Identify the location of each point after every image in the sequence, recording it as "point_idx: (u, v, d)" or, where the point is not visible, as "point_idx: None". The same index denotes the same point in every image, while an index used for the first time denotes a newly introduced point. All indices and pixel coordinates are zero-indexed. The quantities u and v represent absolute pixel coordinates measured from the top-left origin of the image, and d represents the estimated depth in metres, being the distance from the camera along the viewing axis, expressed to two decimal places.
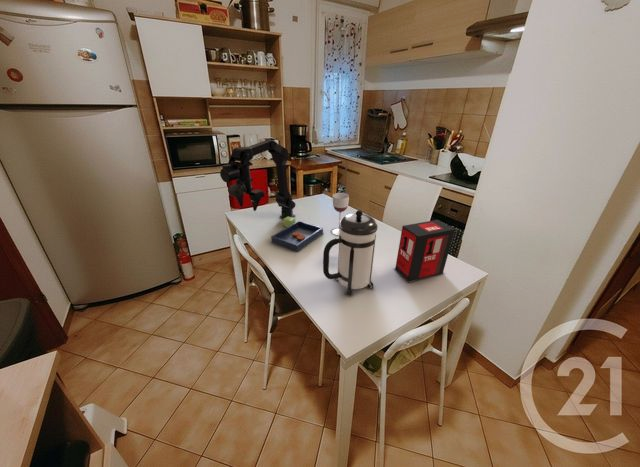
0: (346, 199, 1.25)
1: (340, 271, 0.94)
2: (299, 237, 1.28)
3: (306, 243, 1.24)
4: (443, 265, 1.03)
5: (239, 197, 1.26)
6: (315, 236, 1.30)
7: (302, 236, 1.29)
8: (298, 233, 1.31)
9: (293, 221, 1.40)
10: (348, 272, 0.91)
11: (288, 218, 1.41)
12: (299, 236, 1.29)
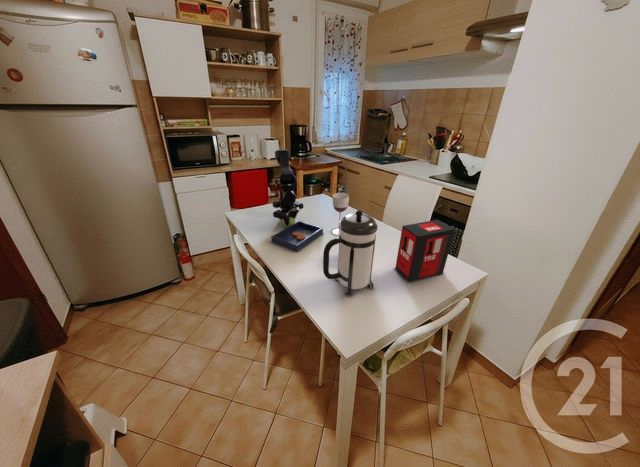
0: (346, 199, 1.25)
1: (340, 271, 0.94)
2: (299, 237, 1.28)
3: (306, 243, 1.24)
4: (443, 265, 1.03)
5: (291, 214, 1.42)
6: (315, 236, 1.30)
7: (302, 236, 1.29)
8: (298, 233, 1.31)
9: (293, 221, 1.40)
10: (348, 272, 0.91)
11: None
12: (299, 236, 1.29)
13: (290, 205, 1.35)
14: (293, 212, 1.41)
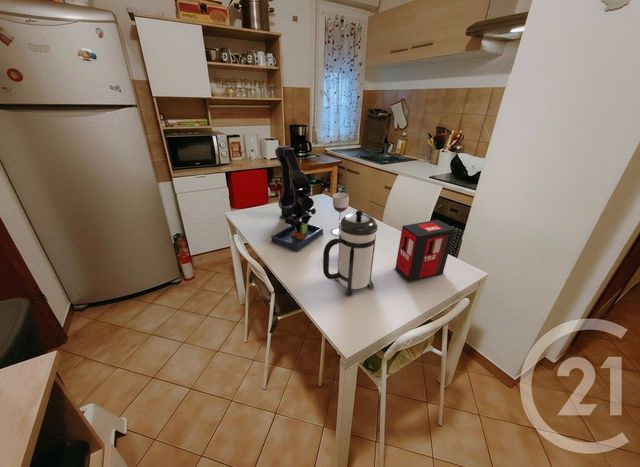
0: (346, 199, 1.25)
1: (340, 271, 0.94)
2: (299, 237, 1.28)
3: (306, 243, 1.24)
4: (443, 265, 1.03)
5: (303, 220, 1.34)
6: (315, 236, 1.30)
7: (302, 236, 1.29)
8: (298, 233, 1.31)
9: (305, 227, 1.32)
10: (348, 272, 0.91)
11: None
12: (299, 236, 1.29)
13: (302, 211, 1.27)
14: (305, 218, 1.33)
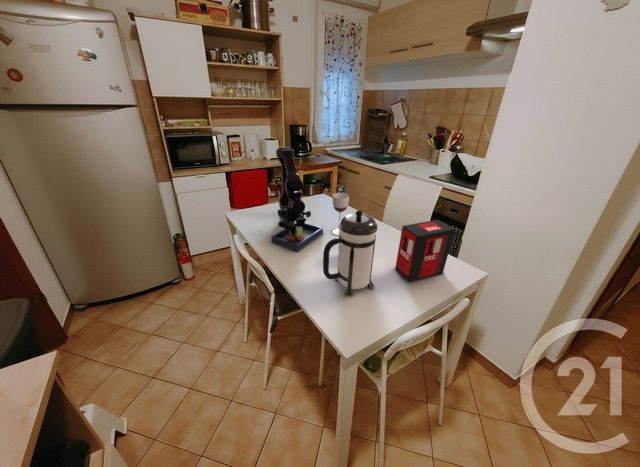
0: (346, 199, 1.25)
1: (340, 271, 0.94)
2: (299, 238, 1.27)
3: (306, 243, 1.24)
4: (443, 265, 1.03)
5: (298, 223, 1.31)
6: (315, 236, 1.30)
7: (302, 237, 1.28)
8: (292, 237, 1.28)
9: (300, 230, 1.29)
10: (348, 272, 0.91)
11: None
12: (299, 237, 1.28)
13: (297, 214, 1.23)
14: (300, 221, 1.30)
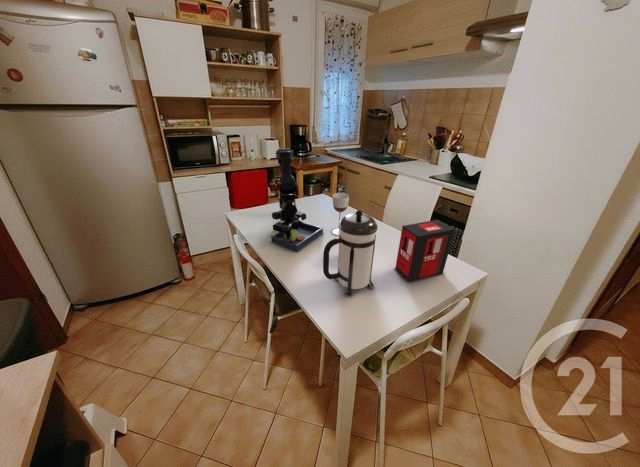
0: (346, 199, 1.25)
1: (340, 271, 0.94)
2: (299, 238, 1.27)
3: (306, 243, 1.24)
4: (443, 265, 1.03)
5: (293, 226, 1.28)
6: (315, 236, 1.30)
7: (302, 237, 1.28)
8: (287, 240, 1.25)
9: (295, 233, 1.26)
10: (348, 272, 0.91)
11: None
12: (299, 237, 1.28)
13: (291, 217, 1.20)
14: (295, 224, 1.27)
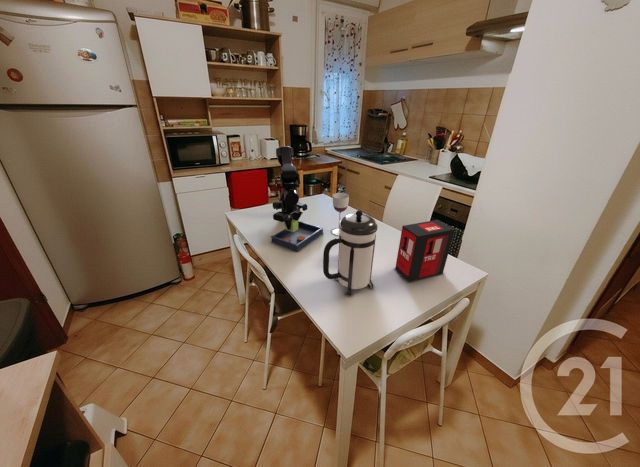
0: (346, 199, 1.25)
1: (340, 271, 0.94)
2: (299, 238, 1.27)
3: (306, 243, 1.24)
4: (443, 265, 1.03)
5: (294, 217, 1.26)
6: (315, 236, 1.30)
7: (302, 237, 1.28)
8: (288, 239, 1.26)
9: (296, 224, 1.24)
10: (348, 272, 0.91)
11: None
12: (299, 237, 1.28)
13: (292, 206, 1.18)
14: (296, 214, 1.25)
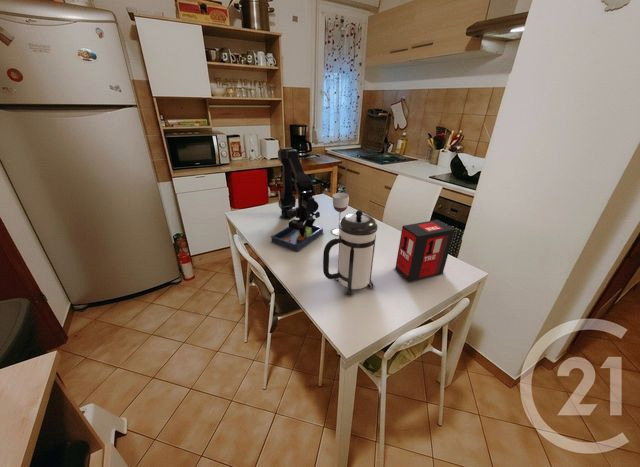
0: (346, 199, 1.25)
1: (340, 271, 0.94)
2: (299, 238, 1.27)
3: (306, 243, 1.24)
4: (443, 265, 1.03)
5: (307, 224, 1.30)
6: (315, 236, 1.30)
7: (302, 237, 1.28)
8: (288, 239, 1.26)
9: (309, 231, 1.29)
10: (348, 272, 0.91)
11: None
12: (299, 237, 1.28)
13: (306, 214, 1.23)
14: (309, 221, 1.29)
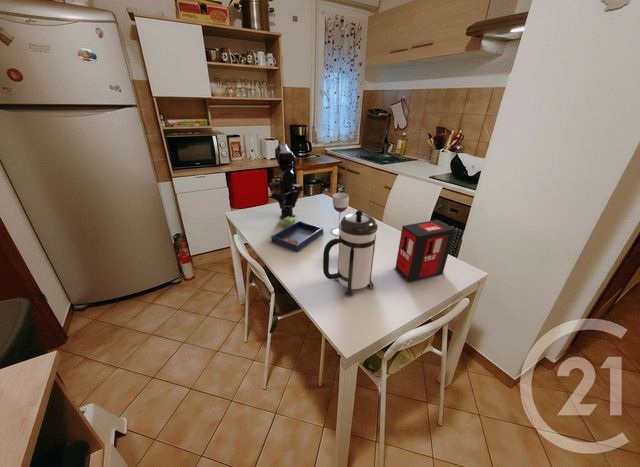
0: (346, 199, 1.25)
1: (340, 271, 0.94)
2: None
3: (306, 243, 1.24)
4: (443, 265, 1.03)
5: (293, 196, 1.39)
6: (315, 236, 1.30)
7: (295, 242, 1.24)
8: (288, 239, 1.26)
9: (293, 221, 1.40)
10: (348, 272, 0.91)
11: (288, 218, 1.41)
12: (292, 242, 1.24)
13: (289, 186, 1.30)
14: (295, 193, 1.38)
